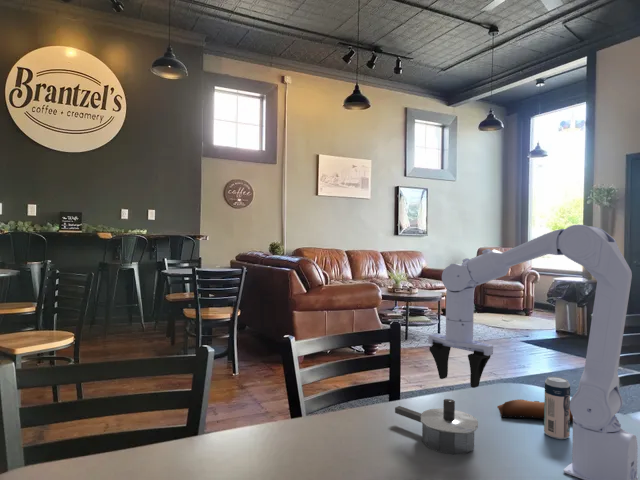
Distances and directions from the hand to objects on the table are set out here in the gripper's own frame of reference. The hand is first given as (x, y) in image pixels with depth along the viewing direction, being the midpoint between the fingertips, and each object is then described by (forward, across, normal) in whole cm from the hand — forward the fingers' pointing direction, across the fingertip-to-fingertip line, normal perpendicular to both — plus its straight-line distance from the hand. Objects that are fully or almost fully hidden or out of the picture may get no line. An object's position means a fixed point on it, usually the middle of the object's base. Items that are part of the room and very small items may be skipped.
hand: (458, 382), depth 98 cm
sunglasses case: (+11, +8, +23) cm, 26 cm away
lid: (+6, +2, -7) cm, 10 cm away
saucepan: (+10, -2, -7) cm, 13 cm away
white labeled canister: (+11, +15, +14) cm, 23 cm away
